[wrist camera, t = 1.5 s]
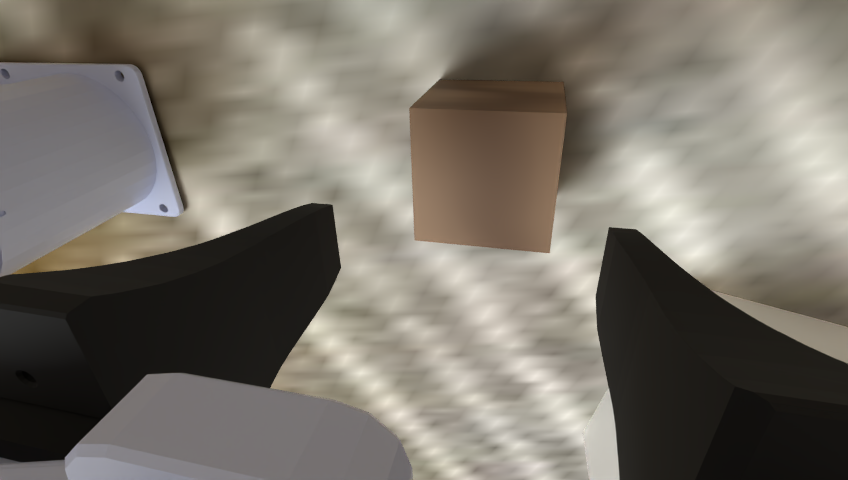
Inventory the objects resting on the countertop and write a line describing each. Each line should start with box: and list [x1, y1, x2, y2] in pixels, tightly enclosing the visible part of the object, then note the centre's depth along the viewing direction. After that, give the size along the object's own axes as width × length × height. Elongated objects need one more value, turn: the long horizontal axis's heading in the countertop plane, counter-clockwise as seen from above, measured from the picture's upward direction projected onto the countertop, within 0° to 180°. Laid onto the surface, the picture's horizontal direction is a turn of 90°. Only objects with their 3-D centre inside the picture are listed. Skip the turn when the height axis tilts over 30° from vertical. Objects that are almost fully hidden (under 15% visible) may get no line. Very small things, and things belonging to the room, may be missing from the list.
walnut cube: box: [409, 80, 567, 253], centre depth 18 cm, size 5×5×5 cm
